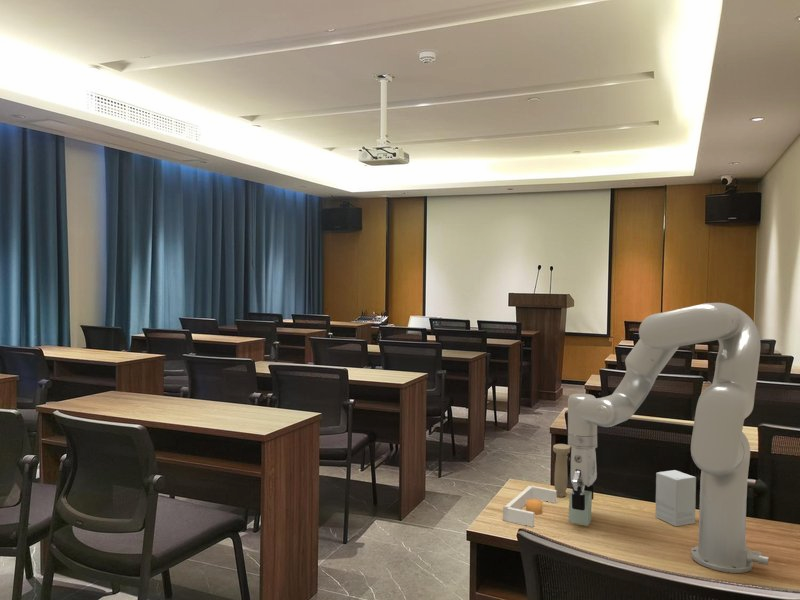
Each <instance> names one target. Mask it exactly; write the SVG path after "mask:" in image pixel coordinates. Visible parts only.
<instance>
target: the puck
mask: <svg viewBox="0 0 800 600" xmlns="http://www.w3.org/2000/svg"><path fill="white" fill-rule="evenodd" d="M525 509H526V510H525V511H530V512H534V514H535V515H534V516H537V515H541V514H543V501H541V500H538V499H528V500H526V505H525Z"/></svg>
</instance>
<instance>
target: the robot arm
mask: <svg viewBox="0 0 800 600" xmlns="http://www.w3.org/2000/svg"><path fill="white" fill-rule="evenodd" d="M638 337H639V339H638V341H637V342H636V343H635V345H634V346H633V348H632V349H631V351H630V352H629V353H628V354H627V356H626V357H625V360H624V363H625V368H626V371H625V374H624V376H623V378H622V379H621V381H620V383H619V384H618V386H617V387H616V388H615V390H614V391H613V393H612V394H610V395H607V396H602V397H597V398H596V396H594V394H593V395H592V394H589V393H573V394H570V395H569V396H568V399H567V445H568V446H570V483H571V484H572V486H571V490H572V508H573V509H577V510H583V511H584V510H585V495H583V494H584V490H585V491H591V492H592V501H593V500H594V483H595V482H596V480H597V479H598V477H597V476H598V472H597V455H596V454H597V452H596V449H597V448H598V427H604V428H609V427H610V428H612V427H614V426H616V425H618V424H621V423H623V422H626V421H628V420H629V419H631V417H633V415H634V414H635V413H636V411H637V410H638V409H639V408H640V407H641V405H642V404H643V402H644V401H645V400H646V398H647V396H648V395H649V393H650V391H651V390H652V387H653V386H654V384H655V381H656V379H657V378H658V376H659V375H660V373H662V371H663V370H664V369H665V367H666V365H667V364H668V362H669V361H670V360H671V359H672V357H673V356H674V354H675V353H676V352H677V350H678V349H679V347H683V346H690V345H694V344H695V345H696V344H701V343H707V342H713V341H717V342H718V345H719V347H718V352H717V356H716V360H715V368H714V376H713V379H712V383H711V385H709V386H707V387H706V388H705V389H704V390H703V391H701V394H700V395H699V397H698V400H697V403H696V408H695V415H694V421H693V428H692V433H691V434H692V435H691V441H690V442H691V443H690V453H691V454H690V455H691V458H692V460H693V462H694V464H695V465H696V467H697V468H699V470H701V471H700V472H701V473H700V483H699V486H700V487H699V488H700V489H699V513H698V516H699V517H698V519H699V521H698V544H697V546H694V547H692V548H691V549H690V556H691V558H692V559H693V561H695V562H696V563H697V564H699V565H701V566H704V567H706V568H708V569H711V570H713V571H717V572H718V571H719V572H723V573H728V572H729V574H744V573H747V572H750V571H751V570H752V568H753V563H757V564H760V565H765V566H769V555H765V554H764V555H763V553H762V551H758V550H751V549H750V548H749V547H748V545H747V544H748V543H747V542H746V533H747V531H746V529H747V528H746V527H747V526H746V525H747V523H746V522H747V497H748V477H749V470H750V469H749V467H750V460H751V447H750V442H749V439H748V437H747V436H746V434H745V433H744V432H743V429H744V423H745V419H746V418H748V417H749V416H750V415H751V414H752V412H753V410H754V406H755V405H754V404H755V396H756V386H757V381H758V375H759V374H758V372H759V371H758V370H759V366H760V365H759V363H760V357H761V356H760V355H761V336H760V333H759V329H758V327H757V325H756V324H755V322H754V321H753V319H752V318H751V317H750V316H749V315H748V314H746V312H744V311H743V310H741V309H740V308H738V307H736V306H734V305H731V304H729V303H726V302H725V303H724V302H705V303H700V304H696V305H691V306H686V307H682V308H678V309H673V310H668V311H665V312H657V313H653V314H649V316H646V317H645V318H644V319H643V320H642V322H641V323H640V325H639V328H638ZM747 547H748V548H747Z"/></svg>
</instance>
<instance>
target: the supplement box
mask: <svg viewBox="0 0 800 600" xmlns="http://www.w3.org/2000/svg"><path fill="white" fill-rule="evenodd" d="M655 476H656V477H655V518H657V519H659V520H661V521H663V522H665V523H668V524H670V525H673V526H675V527H680V526H686V525H687V526H688V525H691V524H695V523H696V500H697V499H696V498H697V497H696V494H697V493H696V492H697V490H696V489H697V477H696V476H693V475H690V474H688V473H684V472H682V471H680V470H676V469H673V470H665V471H659V472H655Z"/></svg>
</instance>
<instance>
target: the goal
mask: <svg viewBox="0 0 800 600" xmlns="http://www.w3.org/2000/svg"><path fill="white" fill-rule="evenodd" d="M557 497H558V496H557V490H555V489H550V488H546V487H541V486H535V485H531V484H529V485H528V486H527V487H526V488H525V489H523V490H522V491H521V492H520V493H519V494H517V495H516V496H515V497H514V498H513V499H512V500H510V501H509V502H508V503H507V504H505V506H503V508H502V511H503V512H502V515H503V516H502V521H504V522H508V523H512V524H518V525H521V526H522V525H523V526H525V525H527V526H526V527H530V526H531V527H530V528H533V527H534V526H535V515H534V512H530V511H526V510H524V509H522V508H524V507H526V500H528V499H538V500H543V501H542V502H546V501H548V502H547V503H551V502H554V503H553V504H557V503H558V502H557V499H558V498H557Z"/></svg>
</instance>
